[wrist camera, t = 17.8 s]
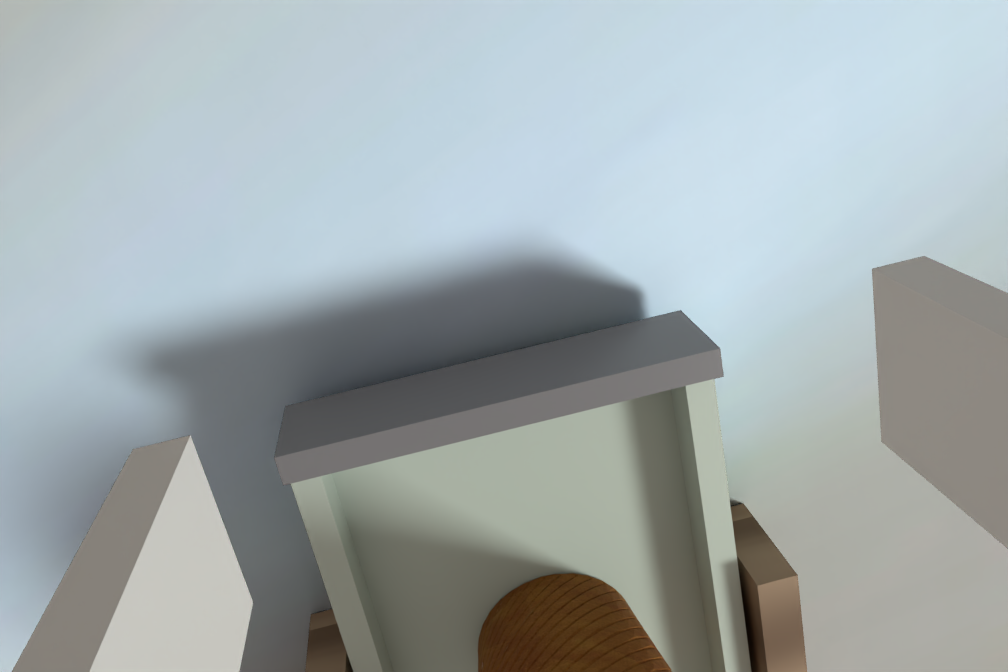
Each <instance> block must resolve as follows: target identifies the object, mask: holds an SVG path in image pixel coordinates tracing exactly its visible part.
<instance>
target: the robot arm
mask: <svg viewBox="0 0 1008 672" xmlns="http://www.w3.org/2000/svg"><path fill="white" fill-rule="evenodd" d="M872 278H873V296H874V314H875V333H876V351H877V369H878V388H879V406H880V424H881V442H882V443H884V444H885V445H886V446H887V447H888V448H890V449H891V450H892V451H893V452H894V453H895V454H897V455H898V456H899V457H900V458H901V459H902V460H904V461H905V462H906V463H907V464H908V465H910V466H911V467H912V468H913V469H914V470H915V471H917V472H918V473H919V474H920V475H921V476H923V477H924V478H925V479H926V480H927V481H928V482H930V483H931V484H932V485H933V486H934V487H935V488H937V489H938V490H939V491H940V492H941V493H943V494H944V495H945V496H946V497H947V498H948V499H950V500H951V501H952V502H953V503H954V504H956V505H957V506H958V507H959V508H960V509H961V510H963V511H964V512H965V513H966V514H967V515H969V516H970V517H971V518H972V519H973V520H974V521H976V522H977V523H978V524H979V525H980V526H981V527H983V528H984V529H985V530H986V531H987V532H989V533H990V534H991V535H992V536H993V537H994V538H996V539H997V540H998V541H999V542H1000V543H1002V544H1003V545H1004V546H1005V547H1006V548H1007V549H1008V293H1006V292H1004V291H1002V290H999V289H997V288H995V287H993V286H990V285H988V284H986V283H984V282H982V281H979V280H977V279H975V278H973V277H970V276H968V275H966V274H964V273H961V272H959V271H957V270H955V269H952V268H950V267H948V266H946V265H943V264H941V263H939V262H937V261H934V260H932V259H930V258H928V257H925V256H922V257H918V258H914V259H910V260H906V261H901V262H897V263H893V264H889V265H885V266H881V267H877V268H873V269H872ZM252 606H253V601H252V598H251V595H250V593H249V590H248V587H247V585H246V582H245V579H244V577H243V574H242V571H241V569H240V566H239V563H238V561H237V558H236V555H235V553H234V550H233V547H232V545H231V542H230V539H229V537H228V534H227V531H226V529H225V526H224V523H223V521H222V518H221V515H220V513H219V510H218V507H217V505H216V502H215V499H214V497H213V494H212V491H211V489H210V486H209V483H208V481H207V478H206V475H205V473H204V470H203V467H202V465H201V462H200V459H199V457H198V454H197V451H196V449H195V446H194V443H193V441H192V438H191V435H189V436H185V437H181V438H177V439H173V440H169V441H165V442H161V443H156V444H152V445H148V446H144V447H140V448H136V449H133V450H132V452H131V454H130V456H129V457H128V459H127V461H126V463H125V465H124V467H123V468H122V470H121V472H120V474H119V476H118V478H117V479H116V481H115V483H114V485H113V487H112V489H111V490H110V492H109V494H108V496H107V498H106V500H105V501H104V503H103V505H102V507H101V509H100V511H99V512H98V514H97V516H96V518H95V520H94V522H93V524H92V525H91V527H90V529H89V531H88V533H87V535H86V536H85V538H84V540H83V542H82V544H81V546H80V547H79V549H78V551H77V553H76V555H75V557H74V558H73V560H72V562H71V564H70V566H69V568H68V569H67V571H66V573H65V575H64V577H63V579H62V580H61V582H60V584H59V586H58V588H57V590H56V591H55V593H54V595H53V597H52V599H51V601H50V602H49V604H48V606H47V608H46V610H45V612H44V614H43V615H42V617H41V619H40V621H39V623H38V625H37V626H36V628H35V630H34V632H33V634H32V636H31V637H30V639H29V641H28V643H27V645H26V647H25V648H24V650H23V652H22V654H21V656H20V658H19V659H18V661H17V663H16V665H15V667H14V669H13V670H12V672H239V671H240V666H241V661H242V656H243V651H244V646H245V641H246V636H247V631H248V626H249V621H250V616H251V611H252Z"/></svg>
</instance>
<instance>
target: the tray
mask: <svg viewBox="0 0 1008 672" xmlns="http://www.w3.org/2000/svg"><path fill="white" fill-rule="evenodd" d="M720 377H724V376H723V368H722V360H721V352H720V348H719V347H718V346H717V345H716V344H715V343H714V342H713V341H712V340H711V339H710V338H709V337H708V336H707V335H706V334H705V333H704V332H703V331H702V330H701V329H700V328H698V327H697V326H696V325H695V324H694V323H693V322H692V321H691V320H690V319H689V318H688V317H687V316H686V315H685V314H684V313H683V312H682V311H681V310H680V311H676V312H671V313H667V314H663V315H659V316H655V317H651V318H647V319H643V320H638V321H634V322H630V323H626V324H622V325H618V326H614V327H610V328H605V329H601V330H597V331H593V332H589V333H585V334H581V335H577V336H572V337H568V338H564V339H560V340H556V341H552V342H548V343H544V344H539V345H535V346H531V347H527V348H523V349H519V350H515V351H510V352H506V353H502V354H498V355H494V356H490V357H486V358H482V359H477V360H473V361H469V362H465V363H461V364H457V365H453V366H449V367H444V368H440V369H436V370H432V371H428V372H424V373H420V374H416V375H411V376H407V377H403V378H399V379H395V380H391V381H387V382H383V383H378V384H374V385H370V386H366V387H362V388H358V389H354V390H350V391H345V392H341V393H337V394H333V395H329V396H325V397H321V398H316V399H312V400H308V401H304V402H300V403H296V404H292V405H288V406H285V410H284V415H283V419H282V424H281V428H280V433H279V437H278V442H277V447H276V451H275V456H274V459H275V462H276V465H277V468H278V471H279V474H280V477H281V480H282V483H283V485H287V484H291V486H292V489H293V492H294V495H295V498H296V501H297V504H298V507H299V510H300V513H301V516H302V519H303V522H304V525H305V528H306V531H307V534H308V537H309V540H310V543H311V546H312V549H313V552H314V555H315V558H316V561H317V564H318V567H319V570H320V573H321V576H322V579H323V582H324V585H325V588H326V591H327V594H328V597H329V600H330V603H331V606H332V609H333V612H334V615H335V618H336V621H337V624H338V627H339V630H340V633H341V636H342V639H343V642H344V645H345V648H346V651H347V654H348V657H349V660H350V663H351V666H352V669H353V672H478V640H479V635H480V632H481V629H482V625H483V623H484V621H485V620H486V618H487V616H488V614H489V612H490V611H491V610H492V609H493V607H494V606H495V605H496V604H497V603H498V602H499V600H501V599H502V598H503V597H504V596H505V595H507V594H508V593H509V592H510V591H512V590H514V589H515V588H517V587H519V586H520V585H522V584H524V583H526V582H529V581H531V580H534V579H536V578H539V577H542V576H547V575H552V574H568V573H574V574H581V575H587V576H590V577H593V578H596V579H599V580H602V581H603V582H605V583H607V584H608V585H610V586H612V587H613V588H614V589H616V590H617V591H618V592H619V593H620V594H621V595H622V596H623V598H624V599H625V600H626V602H627V603H628V605H629V607H630V608H631V610H632V611H633V613H634V614H635V616H636V617H637V619H638V621H639V622H640V624H641V625H642V627H643V629H644V630H645V631H646V633H647V634H648V636H649V637H650V639H651V640H652V642H653V643H654V645H655V646H656V648H657V649H658V651H659V652H660V654H661V655H662V657H663V658H664V660H665V661H666V663H667V664H668V665H669V667H670V668H671V671H672V672H751V664H750V656H749V649H748V641H747V633H746V625H745V617H744V609H743V601H742V593H741V586H740V578H739V570H738V562H737V554H736V546H735V538H734V530H733V522H732V515H731V507H730V499H729V491H728V483H727V475H726V467H725V459H724V452H723V444H722V436H721V428H720V420H719V412H718V404H717V396H716V389H715V381H714V379H716V378H720Z"/></svg>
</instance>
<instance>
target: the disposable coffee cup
mask: <svg viewBox="0 0 1008 672" xmlns="http://www.w3.org/2000/svg"><path fill="white" fill-rule="evenodd" d="M478 672H672V671H671V668H670V667H669V665H668V664H667V663H666V661H665V660H664V658H663V657H662V655H661V654H660V652H659V651H658V649H657V648H656V646H655V645H654V643H653V642H652V640H651V639H650V637H649V636H648V634H647V633H646V631H645V630H644V629H643V627H642V625H641V624H640V622H639V621H638V619H637V617H636V616H635V614H634V613H633V611H632V610H631V608H630V607H629V605H628V603H627V602H626V600H625V599H624V598H623V596H622V595H621V594H620V593H619V592H618V591H617V590H616V589H614V588H613V587H612V586H610V585H608V584H607V583H605V582H603V581H602V580H599V579H596V578H593V577H590V576H587V575H581V574H574V573H568V574H552V575H547V576H542V577H539V578H536V579H534V580H531V581H529V582H526V583H524V584H522V585H520V586H519V587H517V588H515V589H514V590H512V591H510V592H509V593H508V594H507V595H505V596H504V597H503V598H502V599H501V600H499V602H498V603H497V604H496V605H495V606H494V607H493V609H492V610H491V611H490V612H489V614H488V616H487V618H486V620H485V621H484V623H483V625H482V629H481V632H480V635H479V640H478Z"/></svg>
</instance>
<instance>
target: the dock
mask: <svg viewBox="0 0 1008 672" xmlns="http://www.w3.org/2000/svg"><path fill="white" fill-rule="evenodd" d="M731 515H732V522H733V530H734V538H735V546H736V554H737V562H738V570H739V578H740V586H741V593H742V601H743V609H744V617H745V625H746V633H747V641H748V649H749V656H750V664H751V672H807V666H806V656H805V646H804V636H803V626H802V615H801V605H800V595H799V585H798V575H797V574H796V572H795V571H794V570H793V569H792V567H791V566H790V565H789V563H788V562H787V561H786V559H785V558H784V557H783V555H782V554H781V553H780V551H779V550H778V549H777V547H776V546H775V545H774V543H773V542H772V541H771V539H770V538H769V537H768V535H767V534H766V533H765V531H764V530H763V529H762V527H761V526H760V525H759V523H758V522H757V521H756V520H755V518H754V517H753V516H752V514H751V513H750V512H749V510H748V509H747V508H746V506H745V505H744V504H740V505H736V506H732V507H731ZM305 672H353V669H352V666H351V663H350V660H349V657H348V654H347V651H346V648H345V645H344V642H343V639H342V636H341V633H340V630H339V627H338V624H337V621H336V618H335V615H334V612H333V609H330V610H326V611H322V612H319V613H315V614H311V618H310V628H309V638H308V648H307V658H306V668H305Z"/></svg>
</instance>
